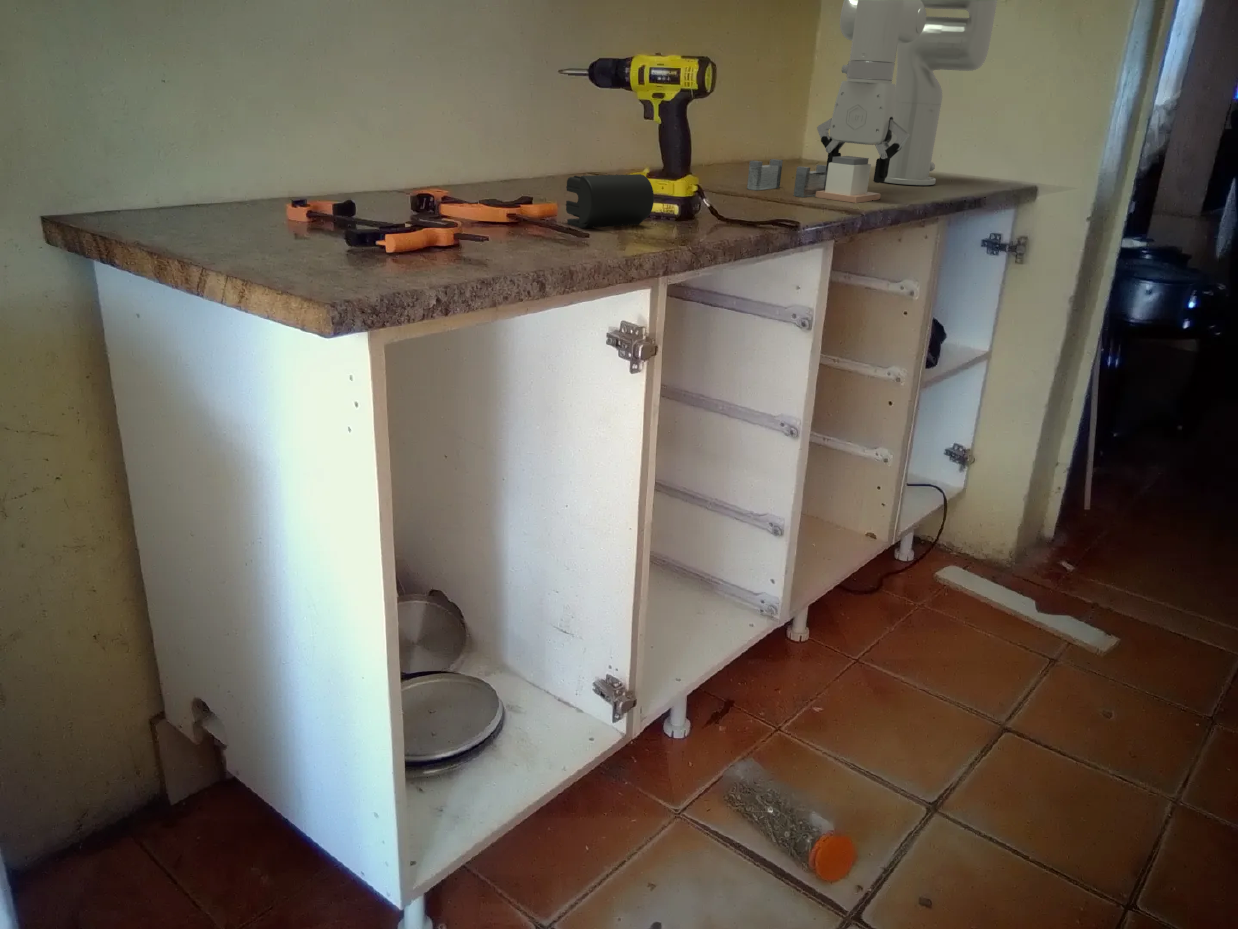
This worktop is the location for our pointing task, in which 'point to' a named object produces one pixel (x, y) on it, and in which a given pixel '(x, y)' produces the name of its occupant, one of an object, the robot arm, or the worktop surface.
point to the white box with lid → (848, 175)
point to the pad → (853, 198)
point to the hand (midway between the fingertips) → (855, 178)
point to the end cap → (609, 200)
